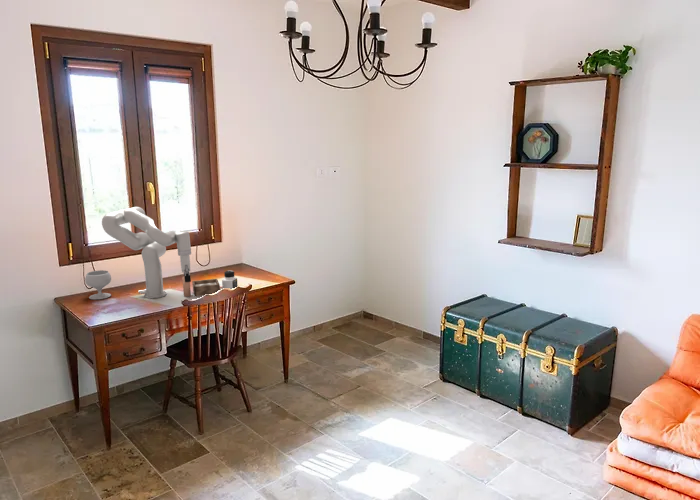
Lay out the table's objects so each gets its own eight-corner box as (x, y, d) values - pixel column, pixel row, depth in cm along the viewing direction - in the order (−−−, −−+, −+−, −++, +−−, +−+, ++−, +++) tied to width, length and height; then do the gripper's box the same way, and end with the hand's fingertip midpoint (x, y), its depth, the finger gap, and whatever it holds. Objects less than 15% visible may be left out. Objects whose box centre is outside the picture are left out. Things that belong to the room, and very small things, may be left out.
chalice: (93, 302, 293) (90, 277, 290) (83, 297, 302) (80, 273, 299) (117, 296, 304) (114, 272, 300) (106, 292, 313) (104, 268, 309)
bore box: (194, 296, 303) (193, 287, 302) (192, 290, 316) (192, 281, 315) (220, 293, 308) (219, 284, 307) (217, 287, 321) (216, 278, 320)
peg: (184, 297, 302) (182, 277, 299) (183, 295, 306) (182, 276, 303) (191, 296, 303) (189, 277, 301) (190, 294, 307) (189, 275, 304)
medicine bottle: (233, 291, 313) (232, 272, 310) (222, 291, 314) (221, 272, 312) (237, 288, 320) (236, 270, 317) (227, 287, 321) (226, 269, 319)
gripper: (177, 250, 305) (180, 277, 309) (178, 255, 289) (181, 284, 293) (190, 248, 308) (193, 275, 311) (192, 254, 292) (195, 282, 296)
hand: (187, 280), depth 302 cm, fingers open, 9 cm apart
